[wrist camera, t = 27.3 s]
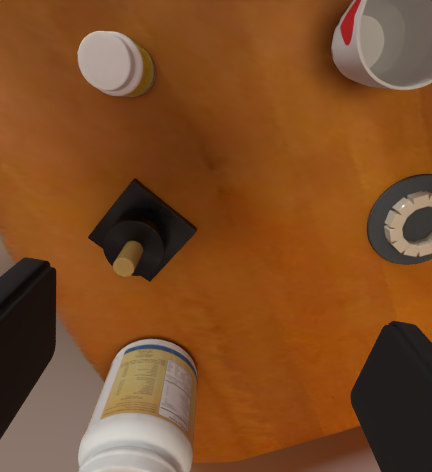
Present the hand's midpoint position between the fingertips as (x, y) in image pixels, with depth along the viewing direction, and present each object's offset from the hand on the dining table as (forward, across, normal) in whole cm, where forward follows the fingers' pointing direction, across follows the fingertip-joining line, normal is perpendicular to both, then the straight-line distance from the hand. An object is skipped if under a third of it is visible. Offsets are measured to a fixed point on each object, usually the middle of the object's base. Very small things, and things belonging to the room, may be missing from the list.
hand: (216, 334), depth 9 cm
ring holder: (+28, +7, +10) cm, 31 cm away
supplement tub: (+28, +3, +31) cm, 42 cm away
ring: (+28, -24, +2) cm, 37 cm away
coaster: (+28, -24, +2) cm, 37 cm away
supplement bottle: (+28, +10, -7) cm, 31 cm away
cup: (+28, -11, -13) cm, 33 cm away
